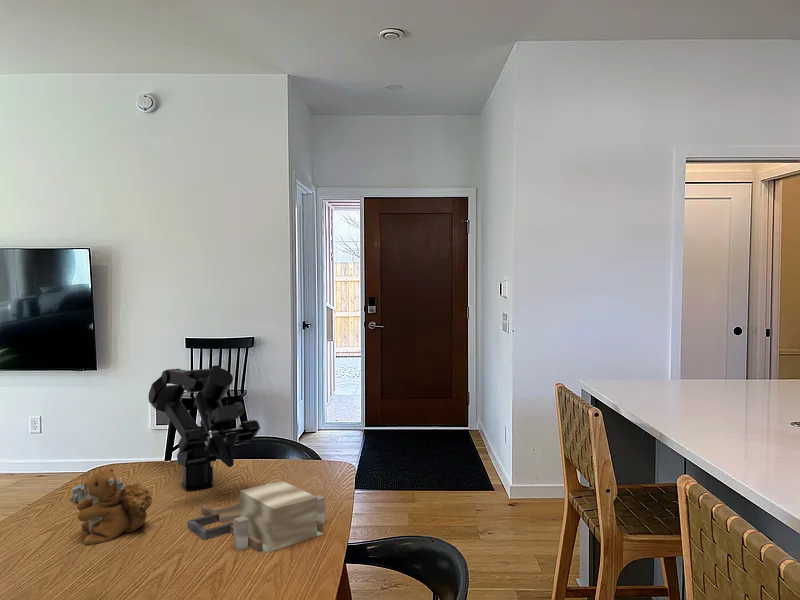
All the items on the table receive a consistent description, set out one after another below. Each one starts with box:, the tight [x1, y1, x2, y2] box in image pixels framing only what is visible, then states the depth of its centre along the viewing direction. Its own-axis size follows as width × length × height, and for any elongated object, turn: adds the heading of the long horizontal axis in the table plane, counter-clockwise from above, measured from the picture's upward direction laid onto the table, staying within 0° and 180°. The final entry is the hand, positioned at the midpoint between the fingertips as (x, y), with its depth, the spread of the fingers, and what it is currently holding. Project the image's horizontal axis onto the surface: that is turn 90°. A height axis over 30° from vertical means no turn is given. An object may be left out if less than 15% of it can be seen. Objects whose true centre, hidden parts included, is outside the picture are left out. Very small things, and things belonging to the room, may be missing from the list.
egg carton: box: [70, 478, 127, 504], centre depth 139 cm, size 11×8×4 cm
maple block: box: [239, 480, 318, 552], centre depth 117 cm, size 14×10×8 cm
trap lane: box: [187, 494, 326, 554], centre depth 122 cm, size 28×26×6 cm
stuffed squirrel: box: [76, 467, 153, 546], centre depth 118 cm, size 10×14×13 cm
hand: (231, 466), depth 133 cm, fingers closed
